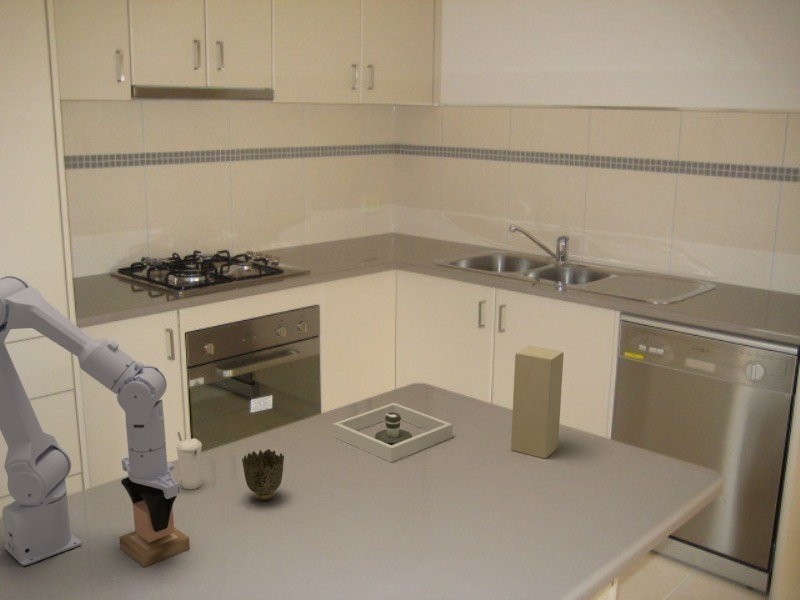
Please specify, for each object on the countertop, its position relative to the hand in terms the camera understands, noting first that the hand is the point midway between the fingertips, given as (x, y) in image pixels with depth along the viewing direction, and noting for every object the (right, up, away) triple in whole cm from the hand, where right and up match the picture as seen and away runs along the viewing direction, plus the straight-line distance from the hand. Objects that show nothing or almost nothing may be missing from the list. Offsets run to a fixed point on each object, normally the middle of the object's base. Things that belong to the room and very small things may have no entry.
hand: (152, 523), depth 136 cm
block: (0, -2, +1) cm, 2 cm away
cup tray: (+38, +7, +45) cm, 59 cm away
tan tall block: (+68, +5, +39) cm, 78 cm away
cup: (+15, 0, +18) cm, 24 cm away
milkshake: (0, +1, +23) cm, 23 cm away
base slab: (0, -4, +1) cm, 4 cm away
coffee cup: (+38, +7, +45) cm, 59 cm away
